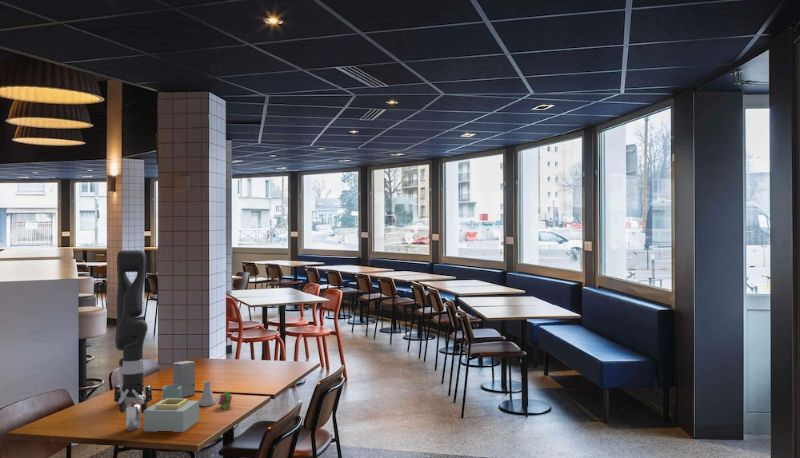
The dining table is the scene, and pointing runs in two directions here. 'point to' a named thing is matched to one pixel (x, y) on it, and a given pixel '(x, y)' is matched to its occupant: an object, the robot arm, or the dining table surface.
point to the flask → (207, 395)
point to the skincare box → (184, 377)
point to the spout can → (132, 416)
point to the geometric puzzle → (224, 400)
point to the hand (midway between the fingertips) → (133, 412)
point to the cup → (171, 392)
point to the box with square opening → (171, 415)
